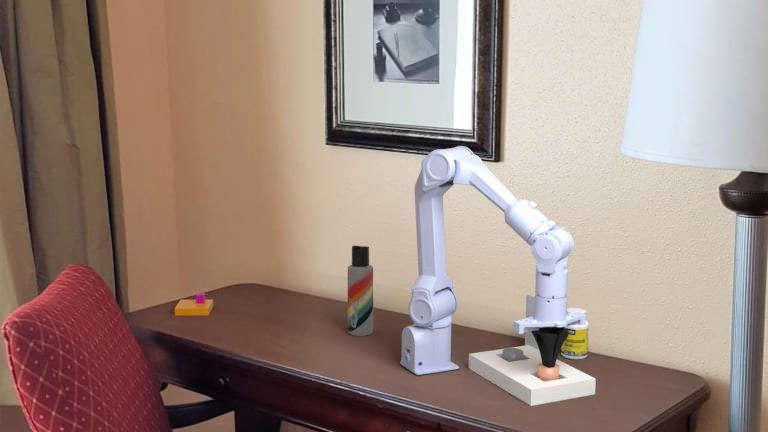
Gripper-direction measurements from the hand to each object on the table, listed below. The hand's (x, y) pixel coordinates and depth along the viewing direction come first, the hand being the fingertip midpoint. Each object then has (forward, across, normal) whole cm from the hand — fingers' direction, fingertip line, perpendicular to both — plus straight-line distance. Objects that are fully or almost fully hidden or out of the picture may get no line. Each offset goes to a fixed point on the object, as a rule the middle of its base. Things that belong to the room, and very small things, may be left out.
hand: (548, 366), depth 171 cm
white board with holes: (+5, 0, +6) cm, 8 cm away
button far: (+5, 0, +12) cm, 13 cm away
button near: (+4, 0, 0) cm, 4 cm away
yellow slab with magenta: (+6, -47, +81) cm, 94 cm away
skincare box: (+5, +13, +21) cm, 25 cm away
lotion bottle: (+5, -17, +48) cm, 51 cm away
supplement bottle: (+5, +17, +15) cm, 23 cm away
